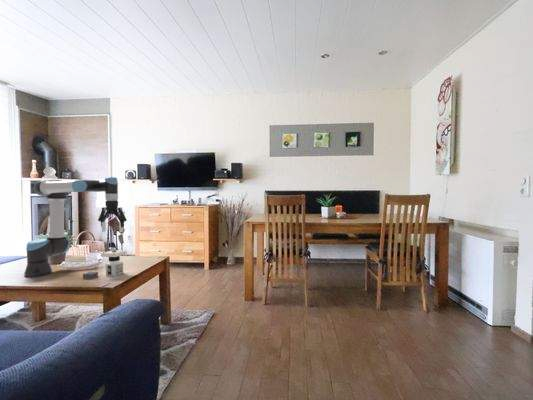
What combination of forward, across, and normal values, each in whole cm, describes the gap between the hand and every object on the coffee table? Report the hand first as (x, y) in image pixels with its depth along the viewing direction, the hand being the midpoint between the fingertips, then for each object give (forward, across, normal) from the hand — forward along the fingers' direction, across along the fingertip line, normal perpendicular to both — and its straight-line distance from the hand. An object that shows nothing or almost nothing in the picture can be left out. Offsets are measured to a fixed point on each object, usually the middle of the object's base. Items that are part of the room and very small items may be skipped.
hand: (112, 231), depth 205 cm
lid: (+16, +1, 0) cm, 16 cm away
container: (+29, +1, 0) cm, 29 cm away
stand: (+29, -9, -10) cm, 32 cm away
